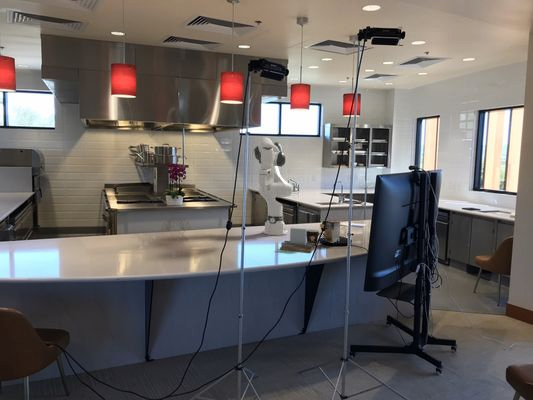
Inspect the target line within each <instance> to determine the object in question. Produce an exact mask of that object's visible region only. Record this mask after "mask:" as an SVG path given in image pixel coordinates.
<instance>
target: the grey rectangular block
mask: <svg viewBox="0 0 533 400" xmlns="http://www.w3.org/2000/svg"><path fill="white" fill-rule="evenodd" d="M307 230H308V228H303V227H290V233H289V234H290V235H289V241H290V243H295V244H305V245H306V243H307Z"/></svg>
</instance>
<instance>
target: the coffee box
mask: <svg viewBox="0 0 533 400" xmlns="http://www.w3.org/2000/svg"><path fill="white" fill-rule="evenodd" d="M325 222H326V223H325ZM324 228H325V230H324V229H323V231H324V232H323V234H324V235H323V236H324V237H323V241H324V240H326V241H328V242H330V243H334V242H337V241H339V242H340V233H341V222H340V221H338V220H337V221H336V220H331V219H329V220H327V219H326V220H324Z"/></svg>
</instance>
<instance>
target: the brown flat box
mask: <svg viewBox="0 0 533 400" xmlns="http://www.w3.org/2000/svg"><path fill="white" fill-rule="evenodd" d="M315 249H316V246H315V243H307V242H306V245H305V244H295V243H290V240H284V242H283V241H282V242H281V245H280V246H279V250H280V251H281V250H282V251H287V250H288V251H289V252H299V253H307V254H308V253H309V254H311V253H312V252H313V251H314V250H315Z"/></svg>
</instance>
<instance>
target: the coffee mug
mask: <svg viewBox="0 0 533 400" xmlns="http://www.w3.org/2000/svg"><path fill="white" fill-rule="evenodd" d="M321 233H322V237H321V238H319V236H320V235H321ZM323 239H324V232H319V230H318V229H307V236H306V243H315V246H316V244H317V245H318V242H319V241H321V240H323Z"/></svg>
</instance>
